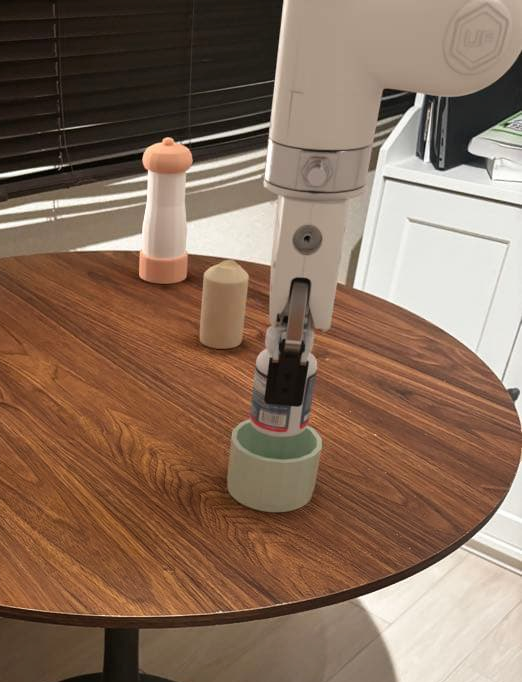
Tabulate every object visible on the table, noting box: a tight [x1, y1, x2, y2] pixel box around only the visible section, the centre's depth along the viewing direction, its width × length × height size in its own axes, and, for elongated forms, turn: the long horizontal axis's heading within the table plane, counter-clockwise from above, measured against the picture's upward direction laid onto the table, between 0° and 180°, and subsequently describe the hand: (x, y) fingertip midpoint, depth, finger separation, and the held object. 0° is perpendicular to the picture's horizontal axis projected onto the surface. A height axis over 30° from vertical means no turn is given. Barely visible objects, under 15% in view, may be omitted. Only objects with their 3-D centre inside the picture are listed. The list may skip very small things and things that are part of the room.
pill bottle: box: [249, 324, 318, 437], centre depth 71 cm, size 5×5×9 cm
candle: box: [199, 259, 250, 350], centre depth 102 cm, size 6×6×10 cm
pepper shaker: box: [138, 136, 194, 285], centre depth 118 cm, size 7×7×19 cm
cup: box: [226, 418, 323, 513], centre depth 76 cm, size 8×8×6 cm
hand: (284, 385), depth 71 cm, fingers closed on pill bottle, 5 cm apart
